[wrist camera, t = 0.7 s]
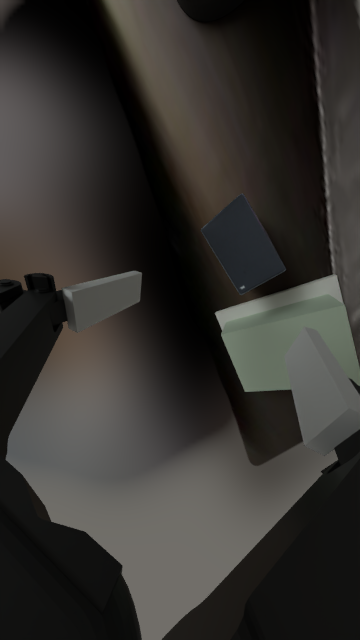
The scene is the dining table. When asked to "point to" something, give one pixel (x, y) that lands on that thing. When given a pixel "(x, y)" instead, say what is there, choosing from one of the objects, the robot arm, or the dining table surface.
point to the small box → (243, 246)
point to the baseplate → (282, 299)
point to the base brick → (287, 341)
